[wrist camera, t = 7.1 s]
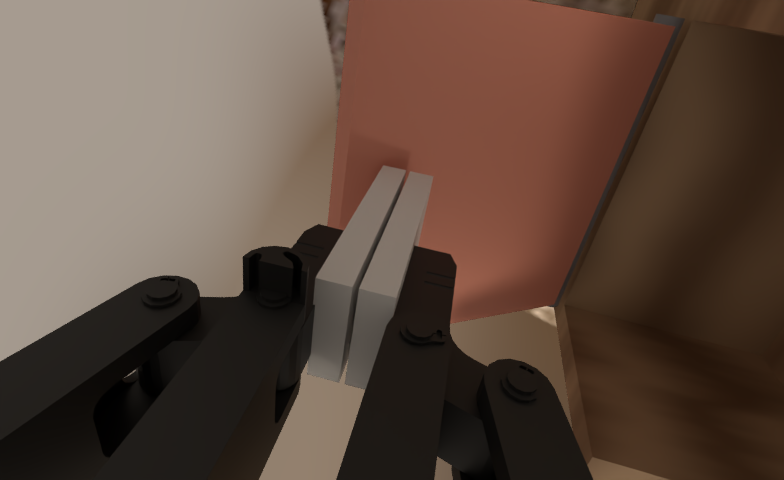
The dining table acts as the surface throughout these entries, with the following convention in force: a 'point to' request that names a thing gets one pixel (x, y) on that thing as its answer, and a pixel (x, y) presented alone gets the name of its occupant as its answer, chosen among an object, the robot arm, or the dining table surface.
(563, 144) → the panel
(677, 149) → the wooden box
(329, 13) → the dining table surface
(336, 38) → the dining table surface
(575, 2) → the dining table surface
